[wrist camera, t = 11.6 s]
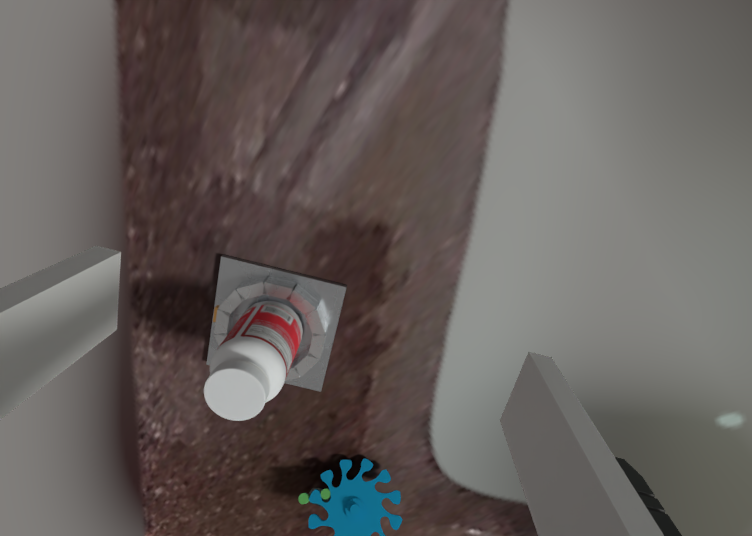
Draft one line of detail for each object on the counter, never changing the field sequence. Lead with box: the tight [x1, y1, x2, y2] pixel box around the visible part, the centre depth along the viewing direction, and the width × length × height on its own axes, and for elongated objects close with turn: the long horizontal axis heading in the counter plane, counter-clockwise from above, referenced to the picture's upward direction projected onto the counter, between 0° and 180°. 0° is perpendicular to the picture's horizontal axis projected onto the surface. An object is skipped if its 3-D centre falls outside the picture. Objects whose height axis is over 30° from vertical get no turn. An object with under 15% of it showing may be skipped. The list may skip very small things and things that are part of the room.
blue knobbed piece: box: [299, 458, 402, 536], centre depth 48 cm, size 11×6×10 cm
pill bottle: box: [204, 301, 303, 421], centre depth 38 cm, size 6×6×11 cm
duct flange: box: [206, 254, 347, 391], centre depth 43 cm, size 12×12×2 cm
